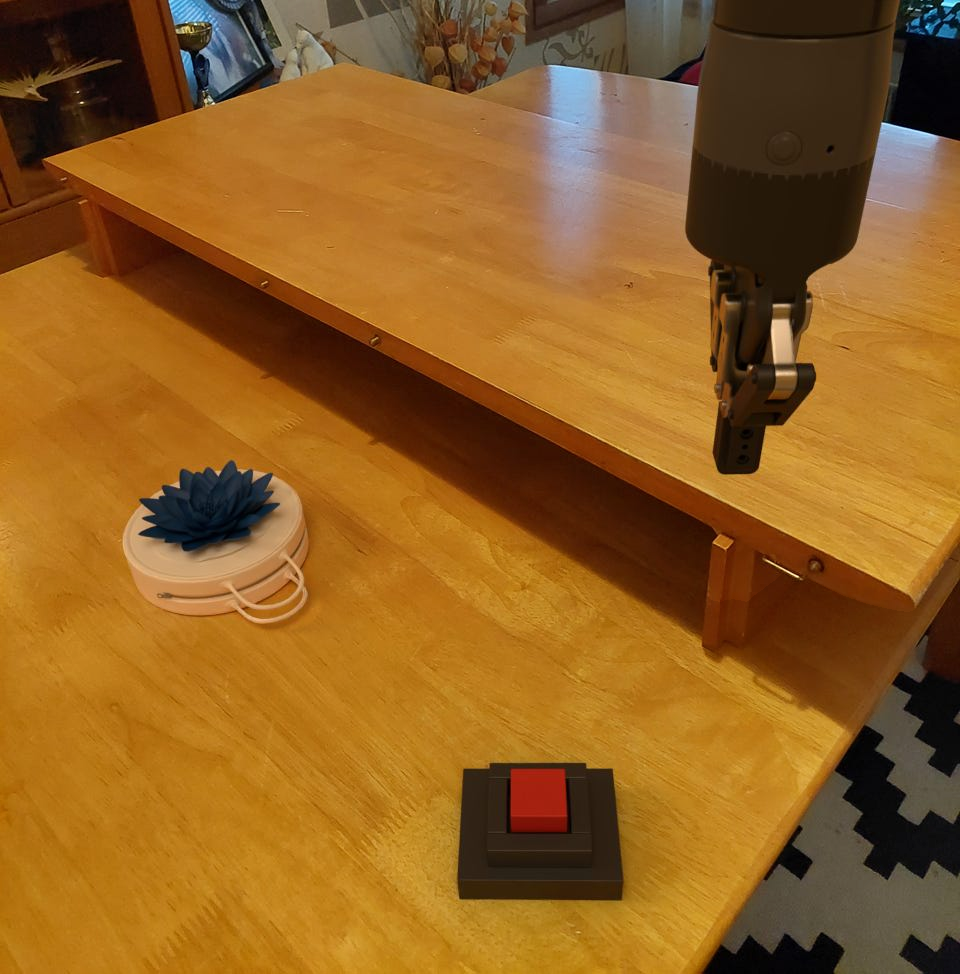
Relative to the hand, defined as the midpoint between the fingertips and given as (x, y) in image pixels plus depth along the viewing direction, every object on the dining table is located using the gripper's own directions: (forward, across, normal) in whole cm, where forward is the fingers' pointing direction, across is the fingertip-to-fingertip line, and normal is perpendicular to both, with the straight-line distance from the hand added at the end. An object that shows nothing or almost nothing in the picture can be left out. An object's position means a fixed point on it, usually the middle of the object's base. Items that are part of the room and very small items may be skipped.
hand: (734, 465), depth 50 cm
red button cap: (+21, -7, +11) cm, 25 cm away
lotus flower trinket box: (+25, +20, +38) cm, 49 cm away
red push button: (+25, -7, +11) cm, 28 cm away
